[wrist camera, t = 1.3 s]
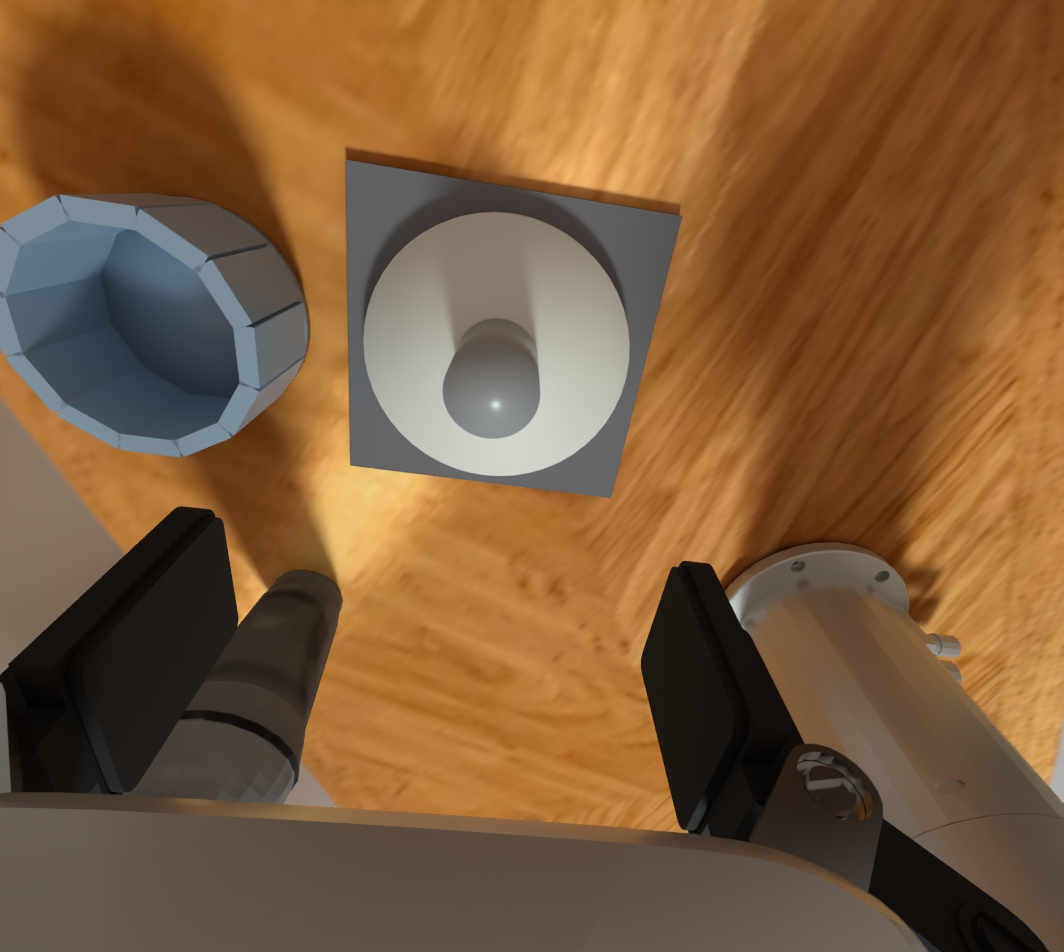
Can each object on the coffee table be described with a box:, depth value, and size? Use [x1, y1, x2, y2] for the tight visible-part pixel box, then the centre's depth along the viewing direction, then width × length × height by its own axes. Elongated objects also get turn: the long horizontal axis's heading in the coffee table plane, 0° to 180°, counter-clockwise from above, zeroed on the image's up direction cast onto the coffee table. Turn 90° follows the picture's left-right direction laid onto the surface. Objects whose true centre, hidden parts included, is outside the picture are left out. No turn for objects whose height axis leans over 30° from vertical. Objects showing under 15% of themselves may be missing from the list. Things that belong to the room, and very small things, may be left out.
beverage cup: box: [122, 570, 343, 804], centre depth 26 cm, size 7×7×20 cm
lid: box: [363, 212, 630, 476], centre depth 25 cm, size 13×13×6 cm
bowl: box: [0, 193, 310, 457], centre depth 24 cm, size 10×10×6 cm
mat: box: [346, 160, 682, 498], centre depth 27 cm, size 15×15×1 cm
